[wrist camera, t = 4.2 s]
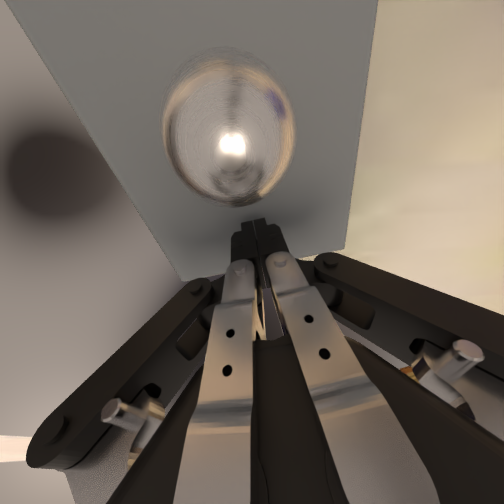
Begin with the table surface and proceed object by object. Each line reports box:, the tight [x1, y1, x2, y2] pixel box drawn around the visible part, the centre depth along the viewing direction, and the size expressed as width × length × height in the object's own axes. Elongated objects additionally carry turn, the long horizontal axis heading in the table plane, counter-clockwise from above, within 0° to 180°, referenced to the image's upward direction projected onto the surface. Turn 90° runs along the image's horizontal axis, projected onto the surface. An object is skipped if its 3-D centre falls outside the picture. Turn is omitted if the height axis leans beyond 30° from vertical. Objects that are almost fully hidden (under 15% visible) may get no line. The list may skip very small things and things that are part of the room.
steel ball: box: [159, 46, 297, 208], centre depth 7 cm, size 5×5×5 cm
